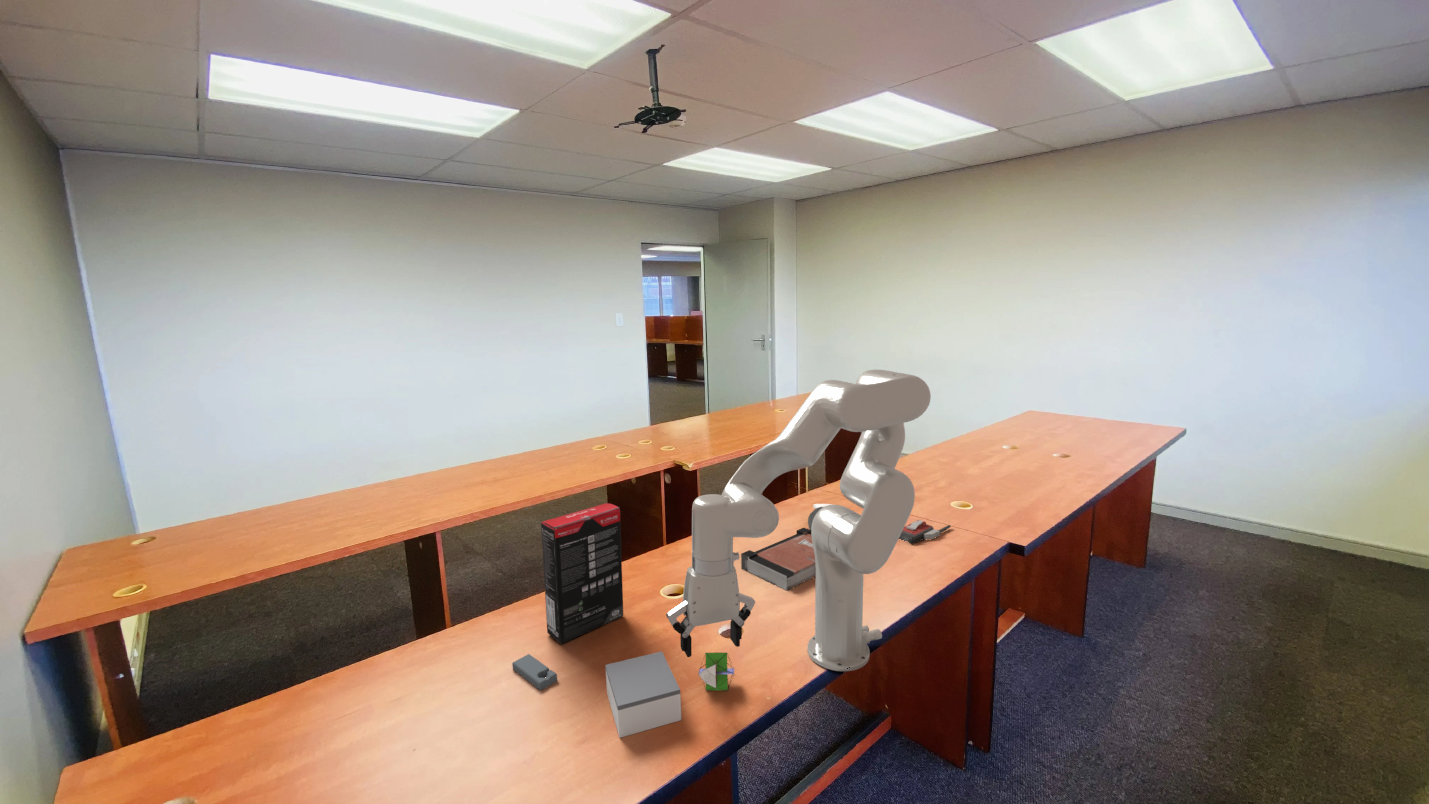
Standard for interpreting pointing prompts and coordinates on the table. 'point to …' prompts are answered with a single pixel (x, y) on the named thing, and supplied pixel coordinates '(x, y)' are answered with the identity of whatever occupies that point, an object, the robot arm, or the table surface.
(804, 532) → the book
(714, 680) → the geometric puzzle
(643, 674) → the grey stand
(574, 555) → the graphics card box
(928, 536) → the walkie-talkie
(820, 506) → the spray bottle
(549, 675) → the bracket
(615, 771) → the table surface
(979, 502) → the table surface
